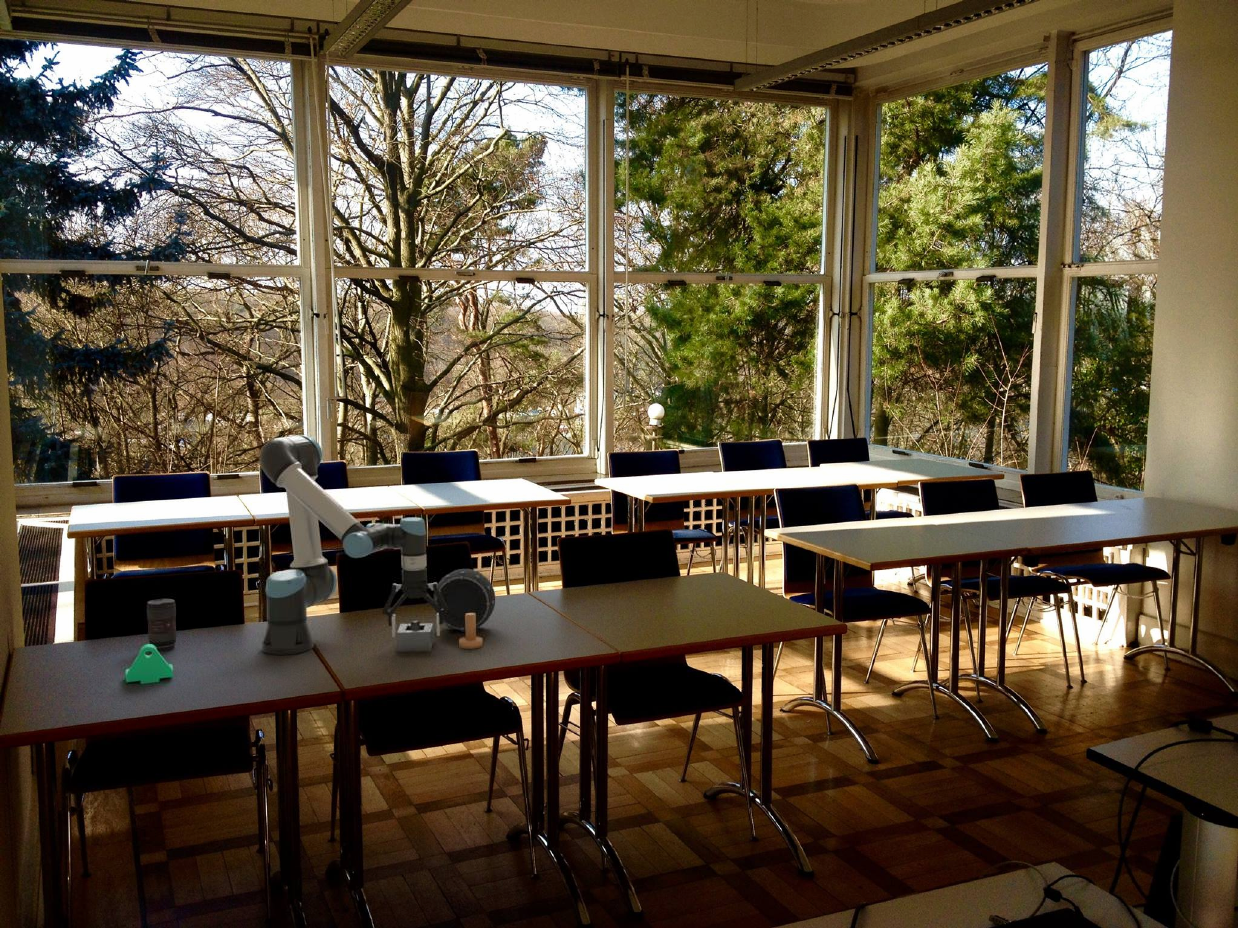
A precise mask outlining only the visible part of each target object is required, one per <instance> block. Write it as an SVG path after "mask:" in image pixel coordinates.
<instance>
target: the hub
mask: <svg viewBox="0 0 1238 928" xmlns="http://www.w3.org/2000/svg"><path fill="white" fill-rule="evenodd" d="M464 633H465V636H463V637H460V638H459V639H458V647H459V648H460V649H463V650H475V649H479V648H481V647H483V638H482V637H480V636H478V635H477V628H476V614H475V613H467V614H465V632H464Z"/></svg>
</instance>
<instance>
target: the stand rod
mask: <svg viewBox="0 0 1238 928" xmlns="http://www.w3.org/2000/svg"><path fill="white" fill-rule="evenodd" d="M410 624H411V630H420V624H421V621H420V620H418V619H417V620H411V621H410Z"/></svg>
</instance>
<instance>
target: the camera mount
mask: <svg viewBox="0 0 1238 928" xmlns="http://www.w3.org/2000/svg"><path fill="white" fill-rule="evenodd" d="M146 652H151V654H150V655H147V654H146ZM164 678H165V679H166V678H174V668H173V664H171V663H168V662H167V661H166V660H165V658H164V657H163V656H162V655H161V652H158V651H157V648H156V647H155V646H154V645H152V644H149V643H147V644H144V645H143V646H141V648H140V650H139V652H138V655H137V656H136V658H135V659H134V661H133V662H132V665H131V666H130V668H127V669H126V670H125V683H132V682H139V681H140V684H148V683H149V684H150V683H158V682H160V679H164Z"/></svg>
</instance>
